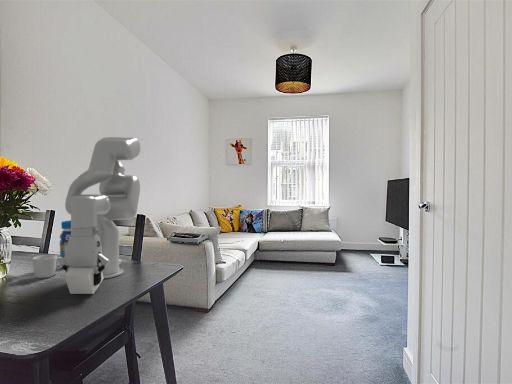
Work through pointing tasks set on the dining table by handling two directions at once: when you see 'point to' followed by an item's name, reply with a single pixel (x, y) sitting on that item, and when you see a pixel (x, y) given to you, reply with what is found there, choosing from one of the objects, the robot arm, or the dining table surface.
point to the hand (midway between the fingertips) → (84, 284)
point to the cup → (45, 265)
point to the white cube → (81, 280)
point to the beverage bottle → (65, 238)
